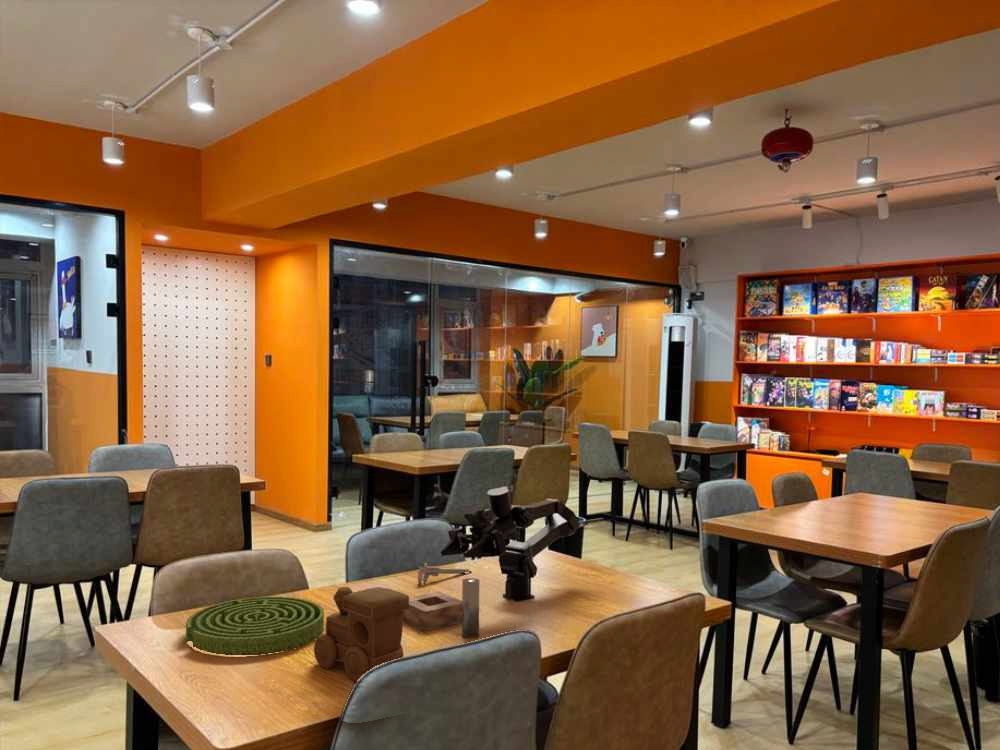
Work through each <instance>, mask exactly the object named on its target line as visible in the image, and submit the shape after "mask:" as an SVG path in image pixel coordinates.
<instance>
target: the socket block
mask: <svg viewBox="0 0 1000 750" xmlns="http://www.w3.org/2000/svg"><path fill="white" fill-rule="evenodd" d="M403 623H405V624H407V625H410V626H411V627H413V628H415V629H417V630H419V631H421V632H423V633H426V632H429V631H434V630H437V629H441V628H446V627H447V628H448V627H451V626H454V625H458V624H462V599H461V600H460V599H458V598H455V597H452V596H450V595H448V594H446V593H443V592H441V591H435V592H429V593H424V594H420V595H415V596H409V609H406V610H403Z"/></svg>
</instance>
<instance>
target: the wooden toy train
mask: <svg viewBox="0 0 1000 750" xmlns="http://www.w3.org/2000/svg"><path fill="white" fill-rule="evenodd" d="M409 598H410V596H409V595H408V594H405V593H403V592H401V591H397V590H394V589H391V588H387V587H380V586H377V587H371V588H366V589H362V590H358V591H354V592H353V590H352V589H351V587H349V586H342V587H341V586H340V587H338V589H337V590H336V592H335V594H334V595H333V600H334V602H335V603H334V604H335V605H336V607H337V610H338V611H337V612H335V613H331V614H330V615H328V616H326V621H325V634H324V633H322V634H321V635H320V636H319V637H318V638H317V639H316V640H315V641H314V645H313V655H314V657H315V660H316V662H317V664H318V665H320V667H322V668H324V669H328V670H330V669H332V668H333V667H334V666H335V665H336V663H337V662H338V661H339V662H342V663H344V664H343V665H344V669H345V671H346V675H347V676H348V677H349V678H350V679H351V680H352V681H354V682H356V681H357V680H358V679H359V678H360V677H361V676H362V675H363V674H365V673H366V672H367V671H369V670H370V669H372V668H373V667H375V666H377V665H380V664H382V663H385V662H388V661H391V660H394V659H398V658H402V657H403V658H404V649H403V646H402V636H403V627H404V622H403V610H406V609H409Z"/></svg>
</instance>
